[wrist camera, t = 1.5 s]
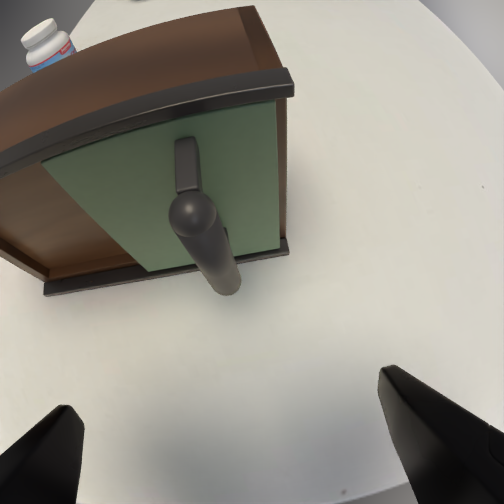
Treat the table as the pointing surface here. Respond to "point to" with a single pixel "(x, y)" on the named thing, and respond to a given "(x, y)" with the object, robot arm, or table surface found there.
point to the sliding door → (184, 189)
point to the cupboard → (117, 121)
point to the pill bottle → (46, 45)
